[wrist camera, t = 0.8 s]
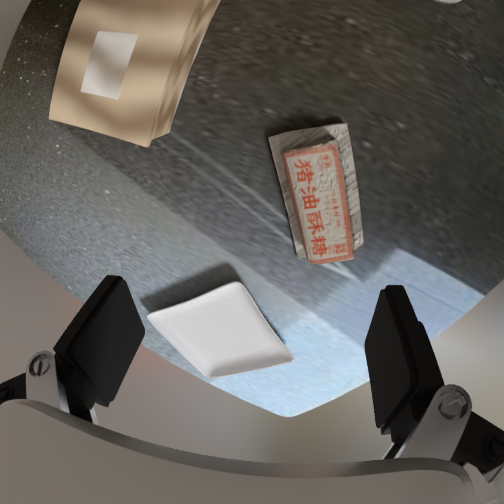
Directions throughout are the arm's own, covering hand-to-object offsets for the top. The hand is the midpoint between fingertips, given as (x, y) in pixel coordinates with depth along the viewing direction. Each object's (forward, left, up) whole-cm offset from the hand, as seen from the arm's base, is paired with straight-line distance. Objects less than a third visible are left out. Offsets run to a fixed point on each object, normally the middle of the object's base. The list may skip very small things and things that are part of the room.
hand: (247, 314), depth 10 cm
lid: (-7, -22, -22) cm, 32 cm away
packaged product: (+3, +7, -29) cm, 30 cm away
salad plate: (+34, +4, -29) cm, 45 cm away
